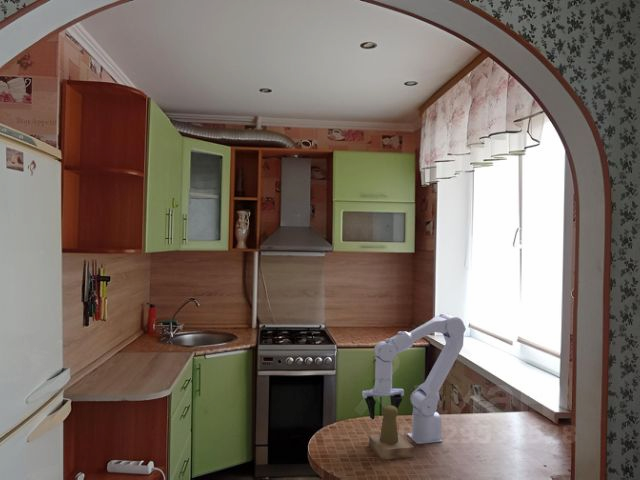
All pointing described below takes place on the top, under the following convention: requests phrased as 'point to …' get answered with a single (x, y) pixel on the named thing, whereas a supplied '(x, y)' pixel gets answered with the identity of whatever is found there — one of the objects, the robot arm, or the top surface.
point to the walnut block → (391, 448)
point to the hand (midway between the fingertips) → (382, 417)
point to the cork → (389, 425)
